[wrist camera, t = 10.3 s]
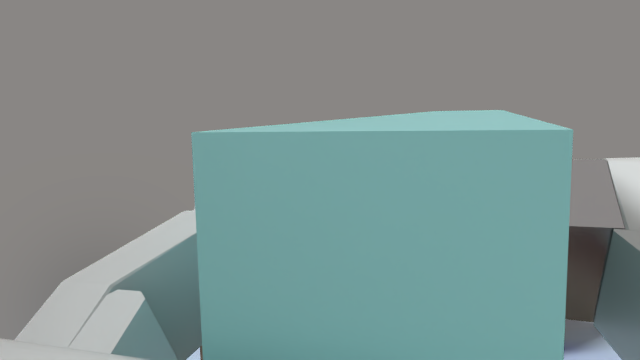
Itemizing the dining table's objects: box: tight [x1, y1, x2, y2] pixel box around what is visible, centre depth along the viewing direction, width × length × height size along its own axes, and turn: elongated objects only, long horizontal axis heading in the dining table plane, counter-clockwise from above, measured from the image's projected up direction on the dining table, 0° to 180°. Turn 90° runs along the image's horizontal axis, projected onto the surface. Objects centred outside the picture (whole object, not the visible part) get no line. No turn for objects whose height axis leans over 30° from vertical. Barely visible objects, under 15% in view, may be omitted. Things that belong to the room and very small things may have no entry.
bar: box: [192, 110, 573, 360], centre depth 17 cm, size 26×4×4 cm, turn 163°
